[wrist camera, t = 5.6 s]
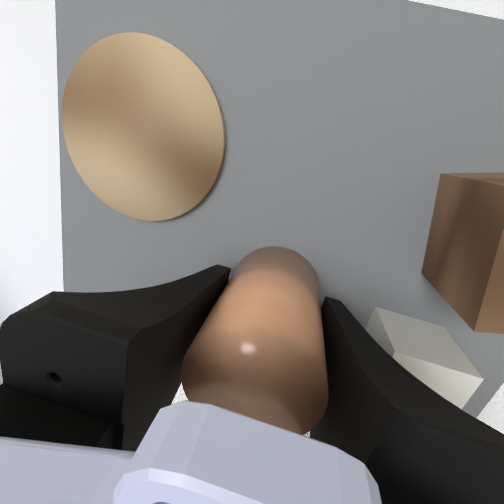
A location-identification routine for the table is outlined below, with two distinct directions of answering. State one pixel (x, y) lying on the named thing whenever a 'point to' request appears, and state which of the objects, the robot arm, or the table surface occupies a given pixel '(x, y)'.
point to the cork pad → (143, 126)
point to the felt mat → (308, 148)
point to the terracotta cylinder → (263, 344)
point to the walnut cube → (469, 248)
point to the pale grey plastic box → (426, 354)
